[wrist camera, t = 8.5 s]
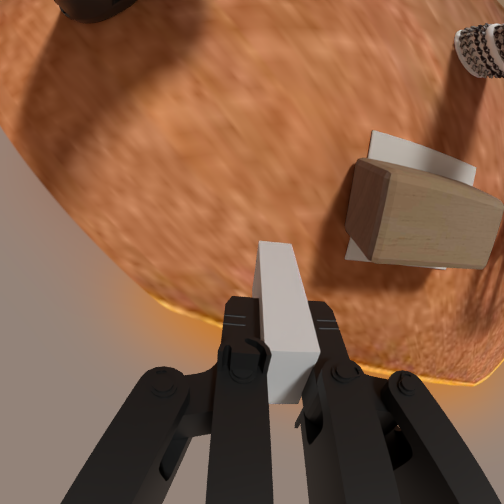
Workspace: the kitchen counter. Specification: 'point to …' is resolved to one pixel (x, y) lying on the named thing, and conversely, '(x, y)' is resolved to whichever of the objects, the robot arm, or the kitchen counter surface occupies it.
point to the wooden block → (420, 217)
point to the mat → (413, 157)
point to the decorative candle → (481, 50)
